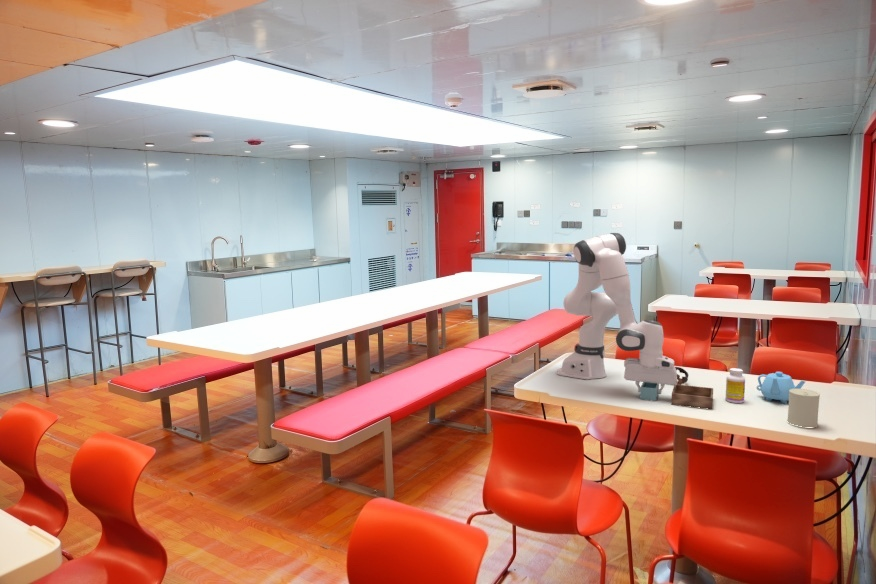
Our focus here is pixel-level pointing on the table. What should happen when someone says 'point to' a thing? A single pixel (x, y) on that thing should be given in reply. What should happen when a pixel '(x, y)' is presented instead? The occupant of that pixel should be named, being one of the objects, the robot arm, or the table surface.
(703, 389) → the crate
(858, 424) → the table surface
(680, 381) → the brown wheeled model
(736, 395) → the supplement bottle
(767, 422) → the table surface
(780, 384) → the teapot
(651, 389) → the tote
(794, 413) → the can
